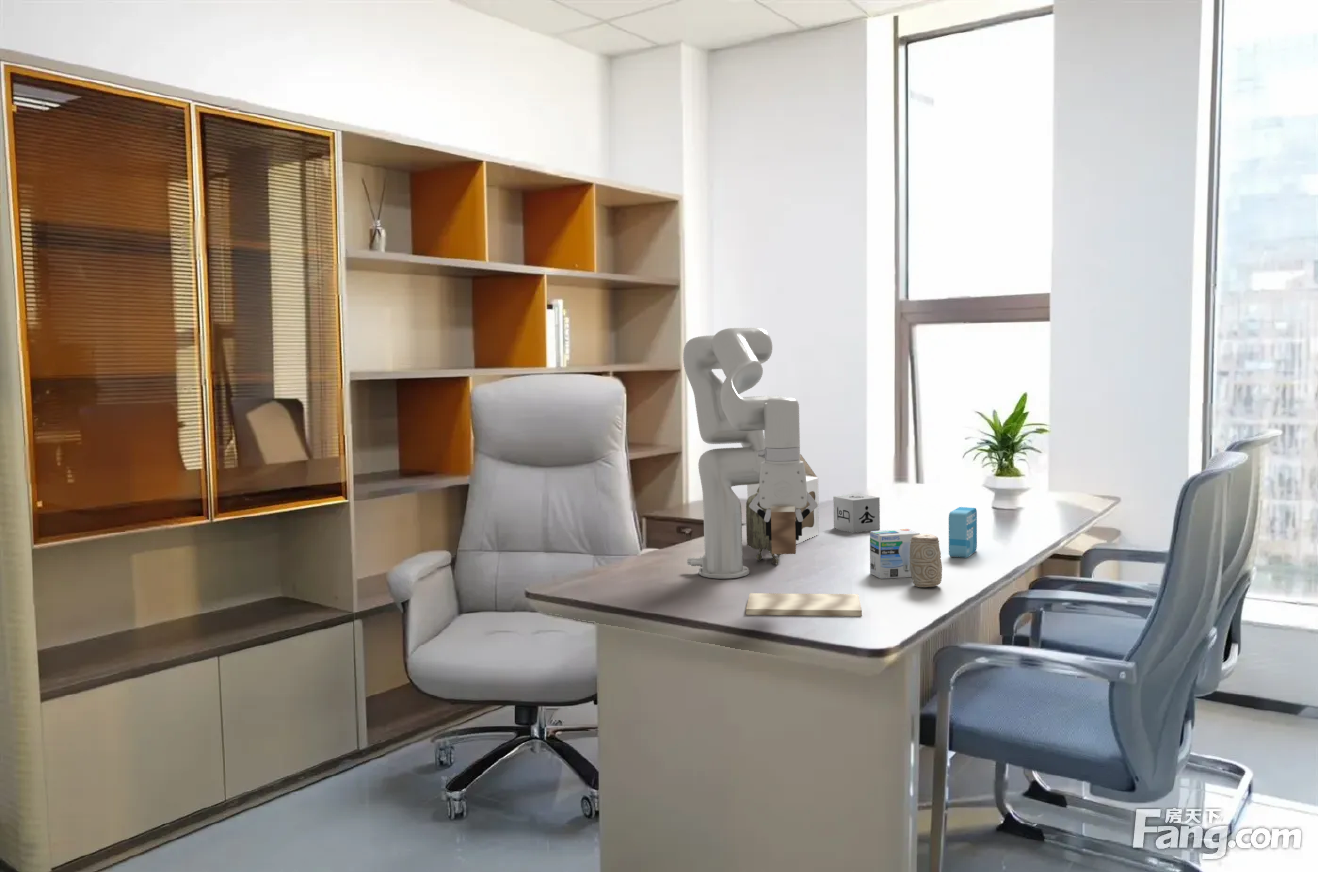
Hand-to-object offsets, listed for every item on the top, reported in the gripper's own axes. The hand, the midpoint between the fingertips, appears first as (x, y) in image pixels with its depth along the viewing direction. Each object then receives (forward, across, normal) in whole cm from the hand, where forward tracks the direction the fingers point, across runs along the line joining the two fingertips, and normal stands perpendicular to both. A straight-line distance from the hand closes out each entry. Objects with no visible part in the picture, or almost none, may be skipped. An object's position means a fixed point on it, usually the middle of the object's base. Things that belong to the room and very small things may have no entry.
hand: (784, 538), depth 214 cm
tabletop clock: (+15, -6, +49) cm, 52 cm away
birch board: (+15, +4, 0) cm, 16 cm away
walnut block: (+3, 0, 0) cm, 3 cm away
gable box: (+15, -2, +79) cm, 81 cm away
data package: (+15, +46, +58) cm, 76 cm away
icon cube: (+15, +20, +97) cm, 100 cm away
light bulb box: (+15, +26, +32) cm, 44 cm away
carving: (+15, +32, +20) cm, 41 cm away
